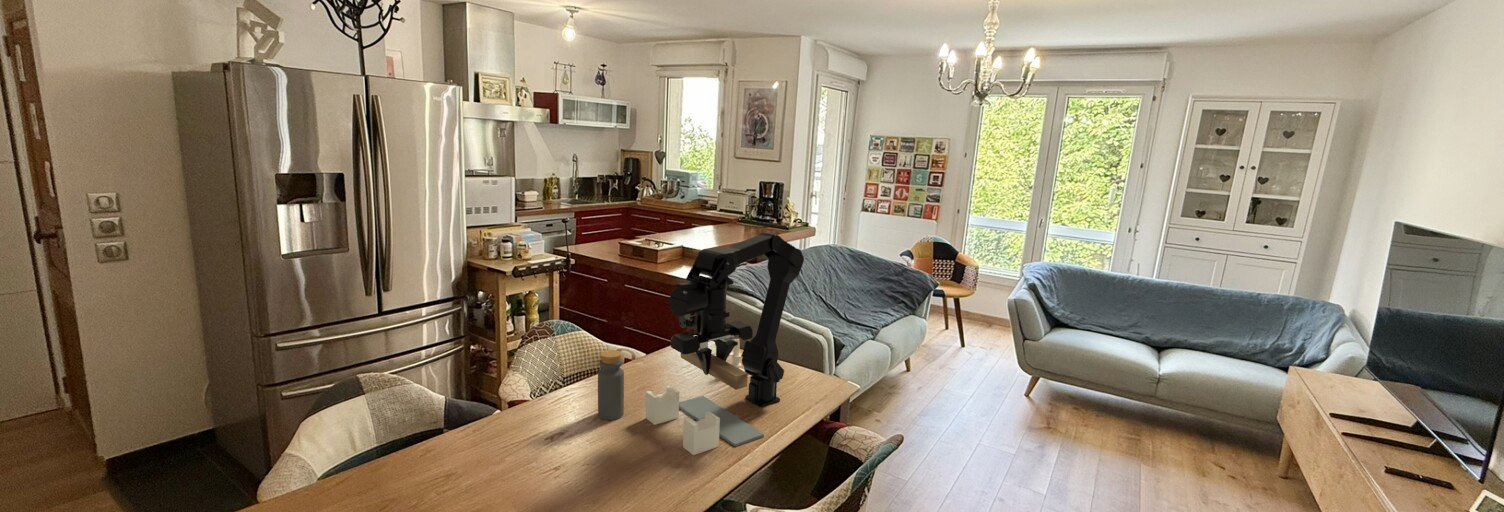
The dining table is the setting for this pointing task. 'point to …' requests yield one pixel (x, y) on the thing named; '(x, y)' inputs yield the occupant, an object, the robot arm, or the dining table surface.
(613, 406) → the bottle
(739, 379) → the rail
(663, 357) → the dining table surface
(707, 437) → the post
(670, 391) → the post
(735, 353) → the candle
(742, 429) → the mat
